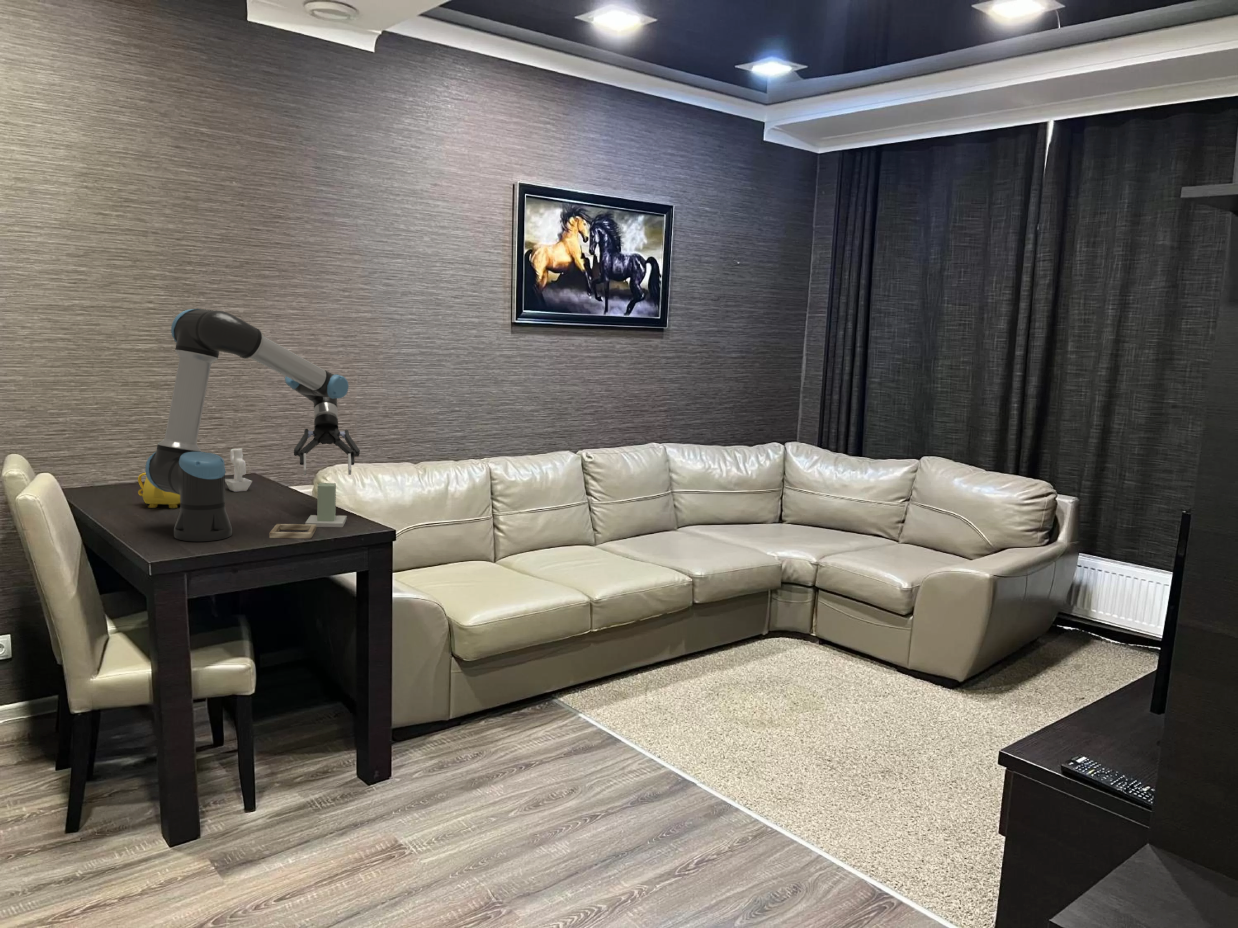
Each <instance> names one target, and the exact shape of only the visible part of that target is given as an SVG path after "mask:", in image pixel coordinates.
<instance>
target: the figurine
mask: <svg viewBox="0 0 1238 928" xmlns="http://www.w3.org/2000/svg"><path fill="white" fill-rule="evenodd" d="M229 455H230V456H229V458H230V463H231V464H232V465H233V478H225V485H227V488H228V489H229V491H232V492H235V493H236V492H247V491H248V489H249V488H250V486H251V484H252V483H253V480H251V479H248V478H246V477H243V476H244V475H246V473H247V464H246V463H247V462H246V461H245V459H243V457H244V453H243V448H241V447H240V448H232V449H230V454H229Z"/></svg>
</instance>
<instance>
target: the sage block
mask: <svg viewBox="0 0 1238 928" xmlns="http://www.w3.org/2000/svg"><path fill="white" fill-rule="evenodd" d="M316 487H317V489H316V490H317V492H316V493H317V496H316V498H317V500H316V502H317V506H316V508H317V510H316V511H317V512H316V513H317V521H334V520H335V518H336V516H337V515H336V512H337V511H336V510H337V509H336V507H337V505H336V504H337V501H336V498H337V496H336V495H337V483H335V482H334V483H333V482H319V483H318V484H317V486H316Z"/></svg>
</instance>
